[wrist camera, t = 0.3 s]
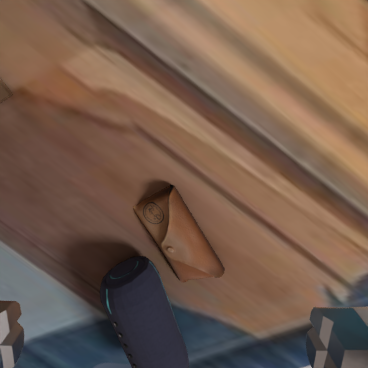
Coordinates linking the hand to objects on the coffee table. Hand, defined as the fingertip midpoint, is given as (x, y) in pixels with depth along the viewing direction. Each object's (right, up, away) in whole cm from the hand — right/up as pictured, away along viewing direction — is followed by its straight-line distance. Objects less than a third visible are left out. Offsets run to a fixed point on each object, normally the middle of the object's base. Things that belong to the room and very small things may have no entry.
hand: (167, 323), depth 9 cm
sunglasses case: (0, -5, +45) cm, 45 cm away
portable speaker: (-6, -18, +50) cm, 54 cm away
